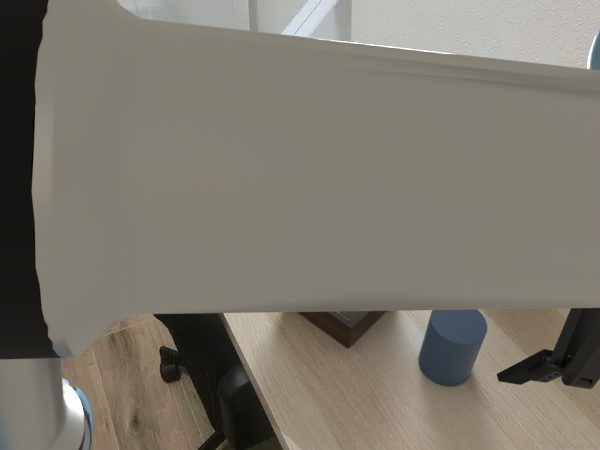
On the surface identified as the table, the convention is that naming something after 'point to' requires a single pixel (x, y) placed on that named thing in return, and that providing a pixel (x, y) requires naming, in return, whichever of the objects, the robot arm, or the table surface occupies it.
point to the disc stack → (451, 345)
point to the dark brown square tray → (344, 323)
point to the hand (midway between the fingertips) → (493, 316)
